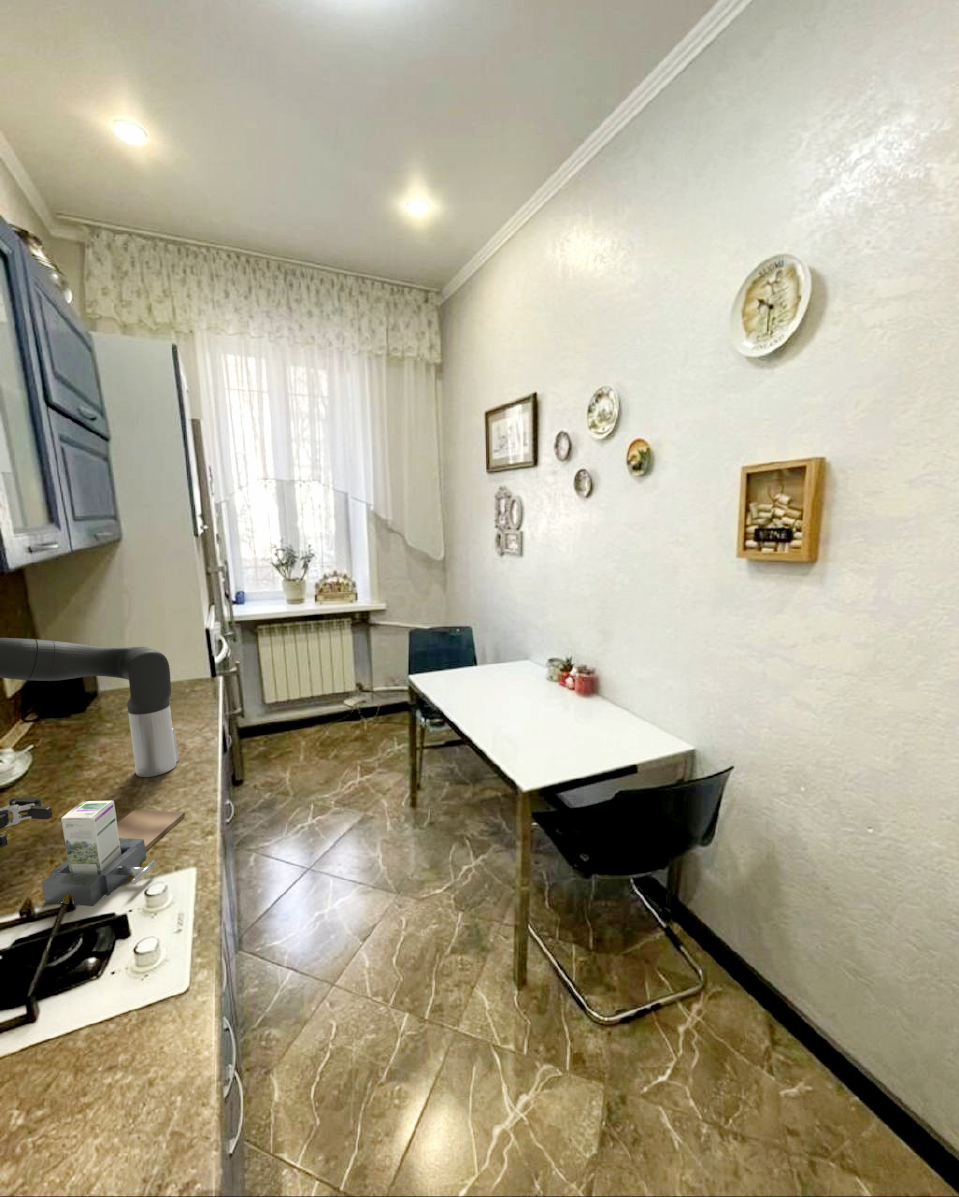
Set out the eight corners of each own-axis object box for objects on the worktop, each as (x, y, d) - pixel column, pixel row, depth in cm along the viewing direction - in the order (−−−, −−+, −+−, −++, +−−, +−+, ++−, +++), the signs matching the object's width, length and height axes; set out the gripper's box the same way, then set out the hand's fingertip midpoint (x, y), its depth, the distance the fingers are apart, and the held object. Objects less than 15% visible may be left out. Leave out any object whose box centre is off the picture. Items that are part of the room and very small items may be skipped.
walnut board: (134, 814, 113) (134, 810, 113) (184, 816, 112) (184, 812, 112) (90, 848, 101) (89, 844, 101) (145, 851, 100) (145, 847, 100)
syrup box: (124, 867, 96) (115, 798, 93) (103, 890, 90) (92, 817, 87) (94, 868, 95) (84, 799, 93) (70, 891, 90) (59, 817, 87)
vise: (100, 855, 99) (97, 837, 99) (171, 858, 98) (169, 840, 97) (40, 903, 87) (37, 882, 86) (121, 907, 86) (118, 887, 85)
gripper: (-102, 826, 85) (-15, 831, 84) (-14, 784, 99) (61, 787, 98) (-94, 866, 87) (-9, 871, 85) (-9, 818, 101) (66, 822, 99)
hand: (28, 826), depth 92 cm, fingers open, 8 cm apart
